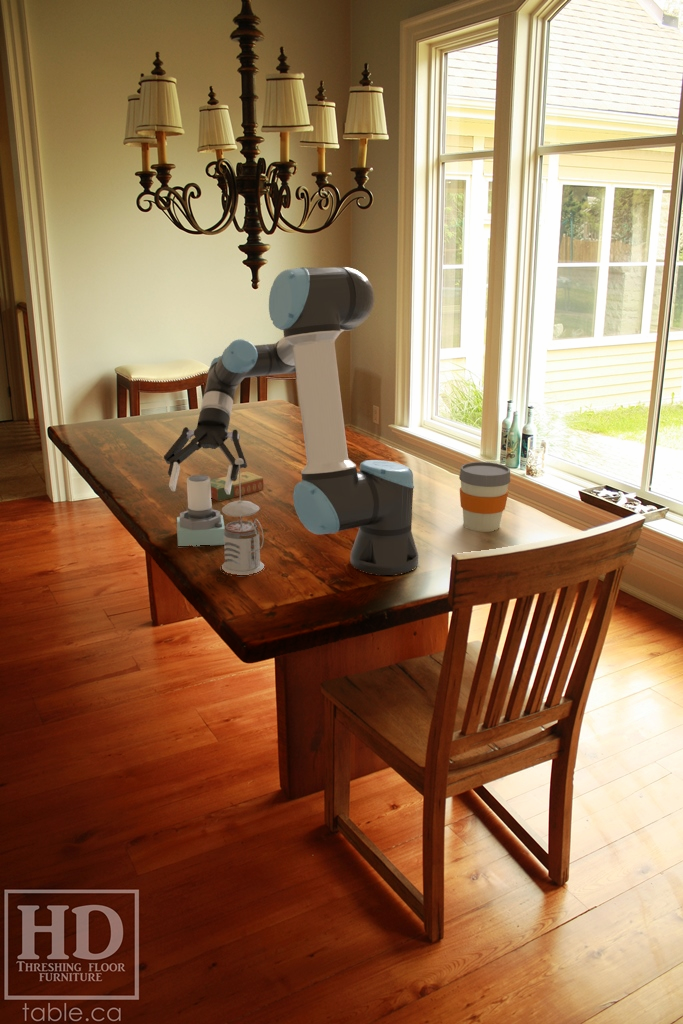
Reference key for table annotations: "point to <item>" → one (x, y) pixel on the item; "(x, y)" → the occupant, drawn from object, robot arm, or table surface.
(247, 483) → the carton
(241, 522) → the french press
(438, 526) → the table surface
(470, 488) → the reusable coffee cup
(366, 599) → the table surface
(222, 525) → the body block
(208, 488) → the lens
